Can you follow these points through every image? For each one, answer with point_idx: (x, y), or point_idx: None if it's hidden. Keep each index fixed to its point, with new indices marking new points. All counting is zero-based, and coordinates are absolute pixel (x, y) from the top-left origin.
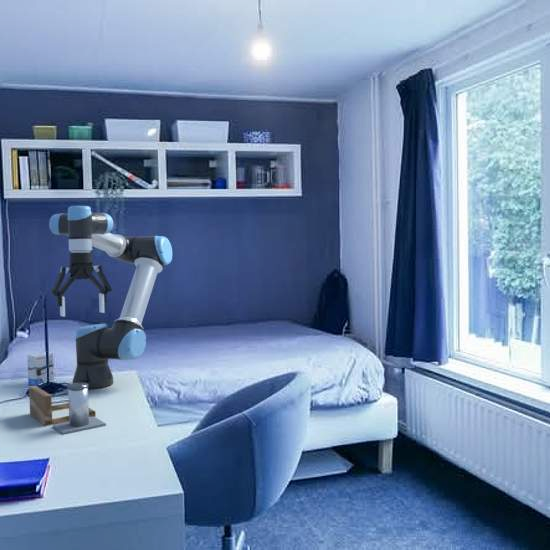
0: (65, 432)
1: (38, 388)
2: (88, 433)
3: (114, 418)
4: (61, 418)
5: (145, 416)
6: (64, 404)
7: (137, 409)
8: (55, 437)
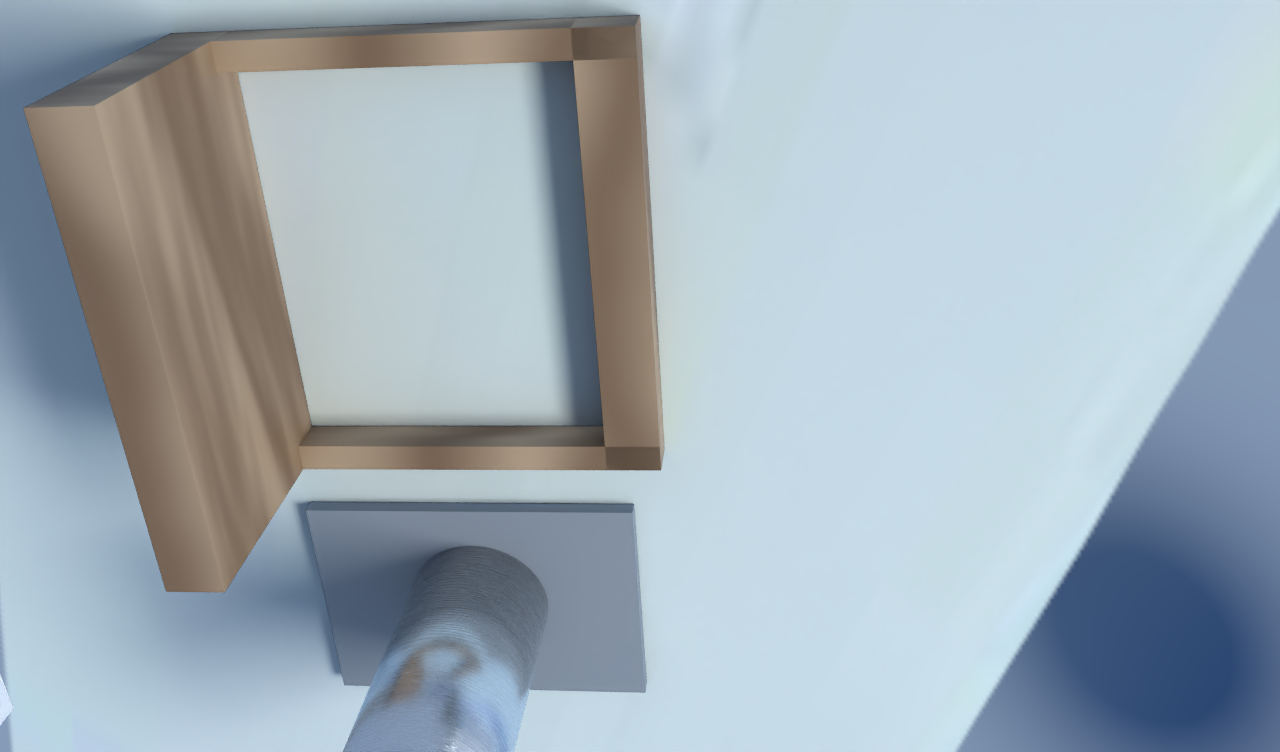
0: (363, 682)
1: (124, 264)
2: None
3: (763, 583)
4: (376, 466)
5: (974, 673)
6: (487, 62)
7: (1031, 487)
8: (298, 694)
